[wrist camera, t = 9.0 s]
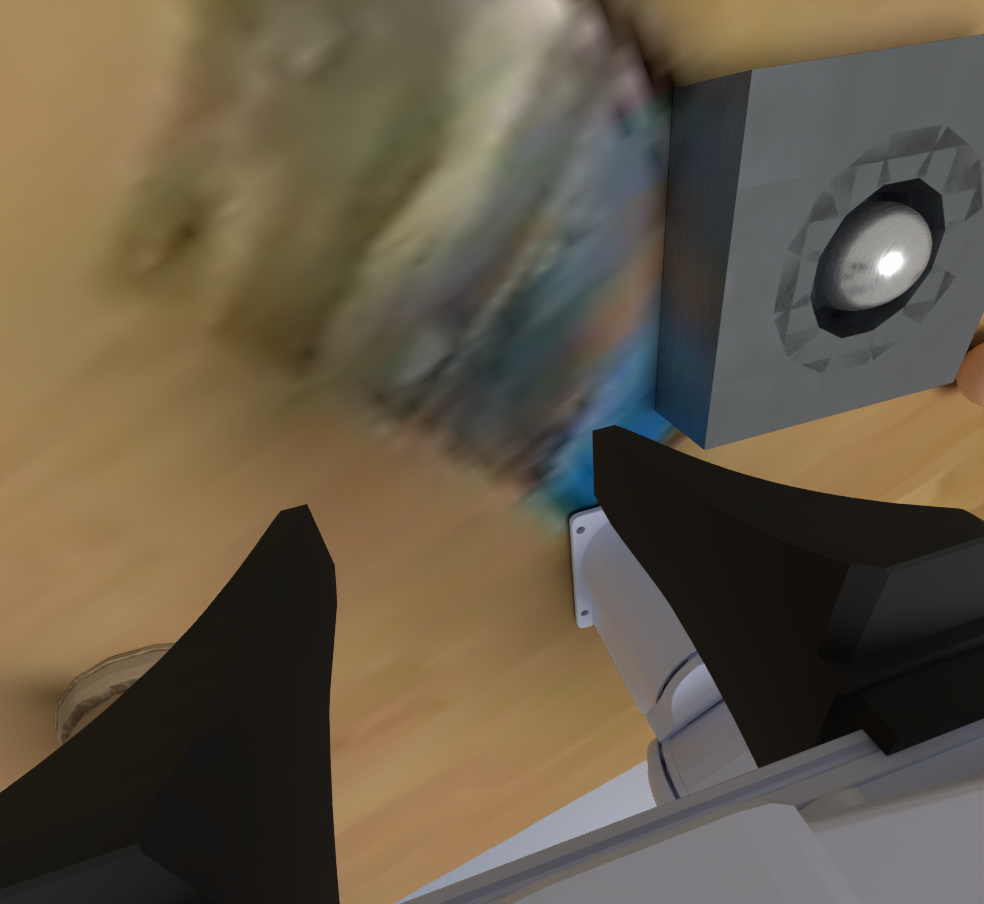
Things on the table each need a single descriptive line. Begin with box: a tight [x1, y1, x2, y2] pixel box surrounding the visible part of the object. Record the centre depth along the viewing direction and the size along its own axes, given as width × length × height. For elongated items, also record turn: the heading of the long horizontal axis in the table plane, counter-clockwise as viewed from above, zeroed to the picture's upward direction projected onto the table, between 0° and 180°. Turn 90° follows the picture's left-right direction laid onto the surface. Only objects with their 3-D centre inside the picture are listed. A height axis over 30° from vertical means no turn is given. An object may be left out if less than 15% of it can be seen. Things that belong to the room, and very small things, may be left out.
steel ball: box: [811, 201, 932, 311], centre depth 19 cm, size 4×4×4 cm
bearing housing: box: [655, 34, 984, 450], centre depth 20 cm, size 13×13×4 cm
